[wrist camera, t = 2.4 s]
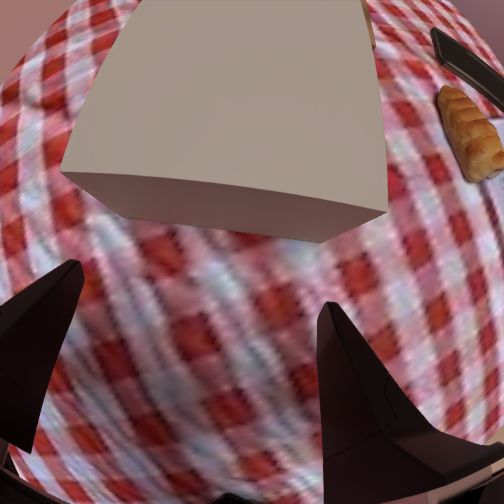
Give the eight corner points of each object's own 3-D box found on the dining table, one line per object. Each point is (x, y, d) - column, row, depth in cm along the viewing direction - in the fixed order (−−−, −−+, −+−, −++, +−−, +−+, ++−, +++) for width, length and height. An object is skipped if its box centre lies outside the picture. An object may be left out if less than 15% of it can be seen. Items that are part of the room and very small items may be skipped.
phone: (522, 124, 21) (440, 59, 20) (516, 127, 22) (435, 64, 21) (509, 83, 22) (431, 24, 21) (505, 87, 23) (427, 29, 22)
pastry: (417, 95, 20) (439, 72, 16) (455, 94, 21) (476, 76, 17) (465, 190, 19) (495, 176, 15) (497, 176, 20) (522, 164, 16)
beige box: (320, 243, 17) (387, 212, 9) (124, 218, 17) (59, 171, 9) (325, 70, 19) (359, -2, 11) (174, 51, 18) (162, -26, 10)
